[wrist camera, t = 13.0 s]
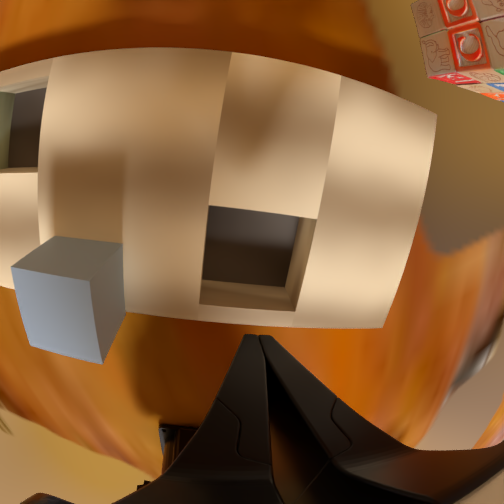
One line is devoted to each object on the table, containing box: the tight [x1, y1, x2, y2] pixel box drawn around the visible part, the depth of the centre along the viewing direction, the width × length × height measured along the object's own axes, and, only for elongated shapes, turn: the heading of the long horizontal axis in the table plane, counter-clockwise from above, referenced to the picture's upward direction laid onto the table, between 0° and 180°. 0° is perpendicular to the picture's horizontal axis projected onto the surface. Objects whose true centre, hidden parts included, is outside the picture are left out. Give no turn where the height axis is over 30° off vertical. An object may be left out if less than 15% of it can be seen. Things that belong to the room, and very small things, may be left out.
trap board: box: [0, 47, 437, 328], centre depth 12 cm, size 13×30×4 cm, turn 81°
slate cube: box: [11, 236, 126, 364], centre depth 11 cm, size 4×4×4 cm
